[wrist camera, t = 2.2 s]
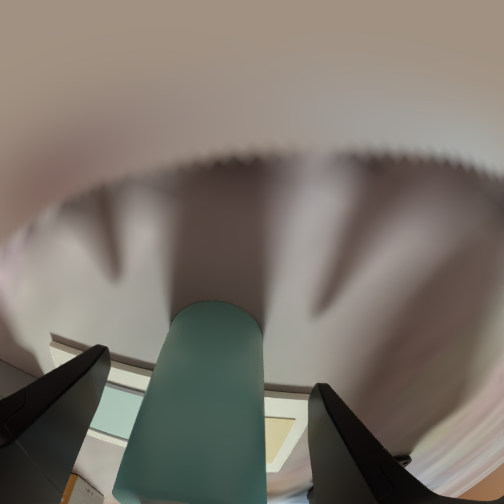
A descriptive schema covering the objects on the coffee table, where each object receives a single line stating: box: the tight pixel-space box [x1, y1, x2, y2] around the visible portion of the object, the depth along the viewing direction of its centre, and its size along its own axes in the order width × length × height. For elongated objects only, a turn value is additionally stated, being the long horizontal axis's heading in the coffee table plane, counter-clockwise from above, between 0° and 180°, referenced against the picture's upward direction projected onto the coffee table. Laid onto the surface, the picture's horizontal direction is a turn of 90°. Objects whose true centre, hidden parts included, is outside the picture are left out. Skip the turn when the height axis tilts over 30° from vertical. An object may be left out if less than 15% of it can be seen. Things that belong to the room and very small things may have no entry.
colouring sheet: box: [49, 341, 310, 472], centre depth 13 cm, size 13×8×1 cm, turn 80°
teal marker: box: [112, 301, 267, 504], centre depth 7 cm, size 4×4×8 cm
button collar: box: [0, 360, 37, 398], centre depth 13 cm, size 5×5×2 cm
